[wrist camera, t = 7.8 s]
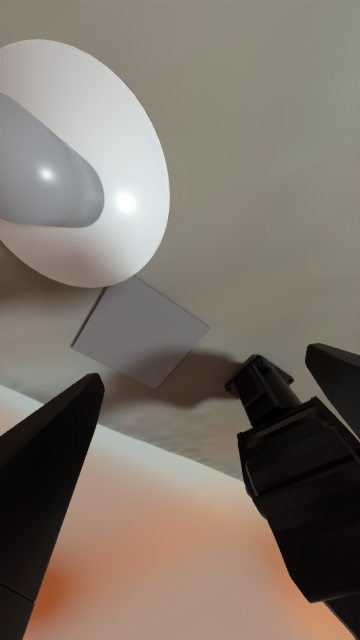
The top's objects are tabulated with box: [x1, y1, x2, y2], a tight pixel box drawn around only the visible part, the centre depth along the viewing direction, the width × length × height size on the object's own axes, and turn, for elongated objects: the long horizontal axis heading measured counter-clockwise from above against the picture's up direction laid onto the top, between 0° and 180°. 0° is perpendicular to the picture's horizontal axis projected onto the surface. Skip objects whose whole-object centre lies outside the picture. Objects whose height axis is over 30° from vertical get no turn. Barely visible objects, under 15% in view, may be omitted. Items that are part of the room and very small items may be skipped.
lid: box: [0, 39, 170, 288], centre depth 9 cm, size 11×11×5 cm
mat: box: [72, 275, 210, 390], centre depth 20 cm, size 11×11×1 cm
